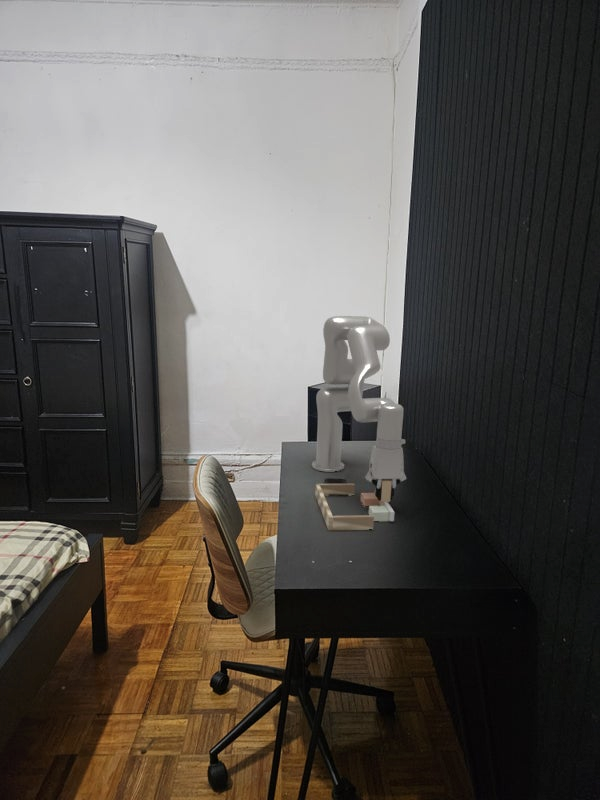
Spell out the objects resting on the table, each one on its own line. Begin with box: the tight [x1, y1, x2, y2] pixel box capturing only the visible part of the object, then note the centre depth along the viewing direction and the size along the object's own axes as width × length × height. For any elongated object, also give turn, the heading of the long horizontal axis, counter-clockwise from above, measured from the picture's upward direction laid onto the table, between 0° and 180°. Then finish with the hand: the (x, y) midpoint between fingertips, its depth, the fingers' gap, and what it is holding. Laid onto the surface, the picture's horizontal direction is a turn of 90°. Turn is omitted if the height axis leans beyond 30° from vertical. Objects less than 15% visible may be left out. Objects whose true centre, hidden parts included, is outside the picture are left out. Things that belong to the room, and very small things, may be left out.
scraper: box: [379, 479, 396, 522], centre depth 169 cm, size 18×3×10 cm, turn 7°
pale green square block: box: [368, 506, 390, 522], centre depth 164 cm, size 5×5×3 cm
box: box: [314, 483, 375, 531], centre depth 168 cm, size 26×13×4 cm, turn 7°
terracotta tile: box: [360, 492, 380, 508], centre depth 174 cm, size 5×5×3 cm
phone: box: [323, 478, 349, 498], centre depth 187 cm, size 8×1×15 cm
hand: (384, 498), depth 169 cm, fingers closed on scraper, 3 cm apart
